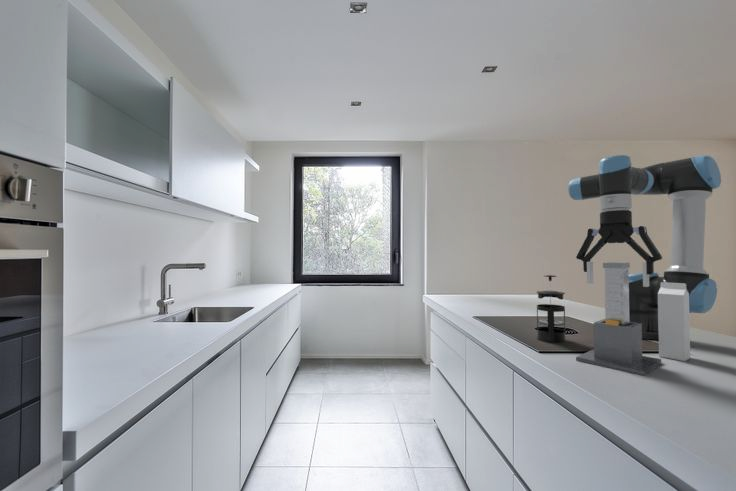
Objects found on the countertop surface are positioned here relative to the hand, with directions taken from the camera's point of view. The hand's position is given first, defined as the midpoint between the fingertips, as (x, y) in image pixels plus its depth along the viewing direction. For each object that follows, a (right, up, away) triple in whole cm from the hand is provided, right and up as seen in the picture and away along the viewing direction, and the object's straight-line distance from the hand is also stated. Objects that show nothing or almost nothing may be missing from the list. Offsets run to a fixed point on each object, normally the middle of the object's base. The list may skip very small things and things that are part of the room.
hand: (616, 285), depth 101 cm
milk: (+20, -22, +4) cm, 30 cm away
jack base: (0, -22, 0) cm, 22 cm away
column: (0, -14, 0) cm, 14 cm away
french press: (-6, -23, +26) cm, 35 cm away
